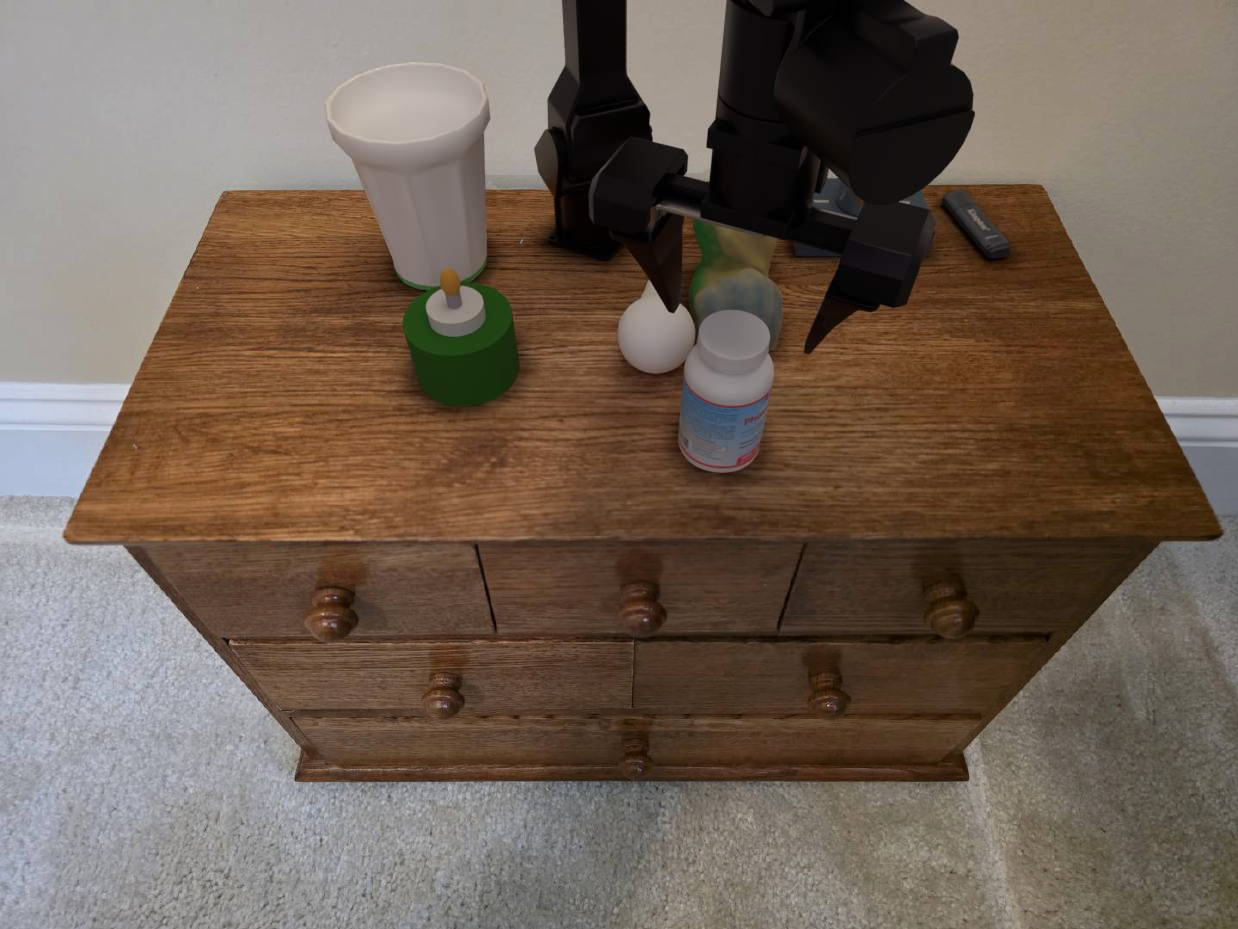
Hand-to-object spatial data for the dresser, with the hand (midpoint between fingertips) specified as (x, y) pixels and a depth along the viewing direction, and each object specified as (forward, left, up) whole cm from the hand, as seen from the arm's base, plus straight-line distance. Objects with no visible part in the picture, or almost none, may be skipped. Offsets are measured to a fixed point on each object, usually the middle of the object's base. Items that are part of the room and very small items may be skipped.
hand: (739, 328), depth 52 cm
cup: (-31, +9, -11) cm, 34 cm away
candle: (-21, -2, -11) cm, 24 cm away
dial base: (+2, +29, -11) cm, 31 cm away
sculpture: (-5, +14, -11) cm, 19 cm away
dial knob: (+2, +29, -8) cm, 31 cm away
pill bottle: (0, -1, -11) cm, 11 cm away
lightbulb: (-11, +13, -9) cm, 19 cm away
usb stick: (+12, +34, -11) cm, 38 cm away
